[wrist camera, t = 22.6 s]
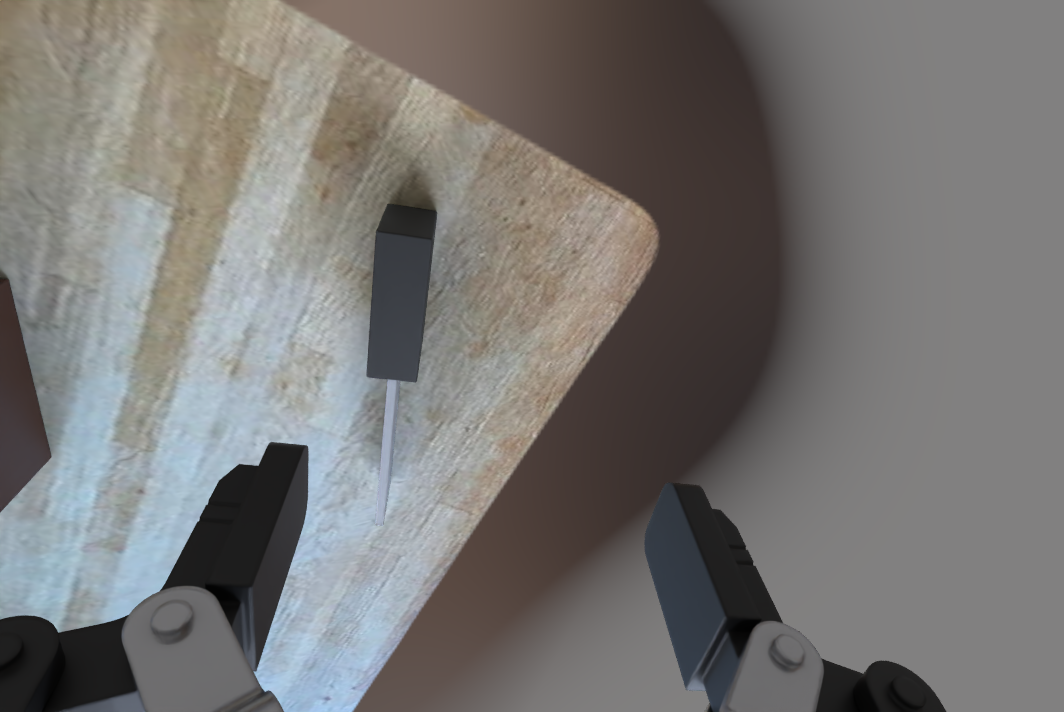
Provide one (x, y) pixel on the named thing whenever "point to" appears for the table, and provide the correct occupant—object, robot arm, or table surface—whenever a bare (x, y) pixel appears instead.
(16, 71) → the table surface
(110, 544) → the table surface
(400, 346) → the knife
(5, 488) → the cake
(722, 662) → the robot arm
